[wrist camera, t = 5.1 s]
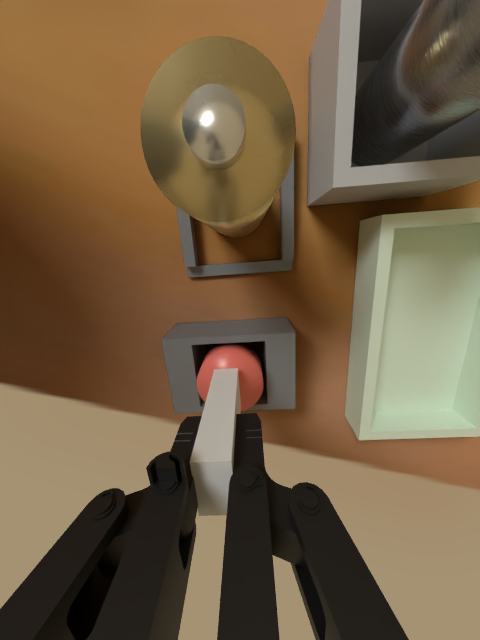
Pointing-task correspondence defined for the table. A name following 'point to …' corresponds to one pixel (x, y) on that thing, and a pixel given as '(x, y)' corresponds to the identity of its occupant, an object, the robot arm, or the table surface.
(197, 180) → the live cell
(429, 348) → the trough
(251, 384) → the button
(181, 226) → the empty grey frame
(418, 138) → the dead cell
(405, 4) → the bin
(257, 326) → the button housing
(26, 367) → the table surface
